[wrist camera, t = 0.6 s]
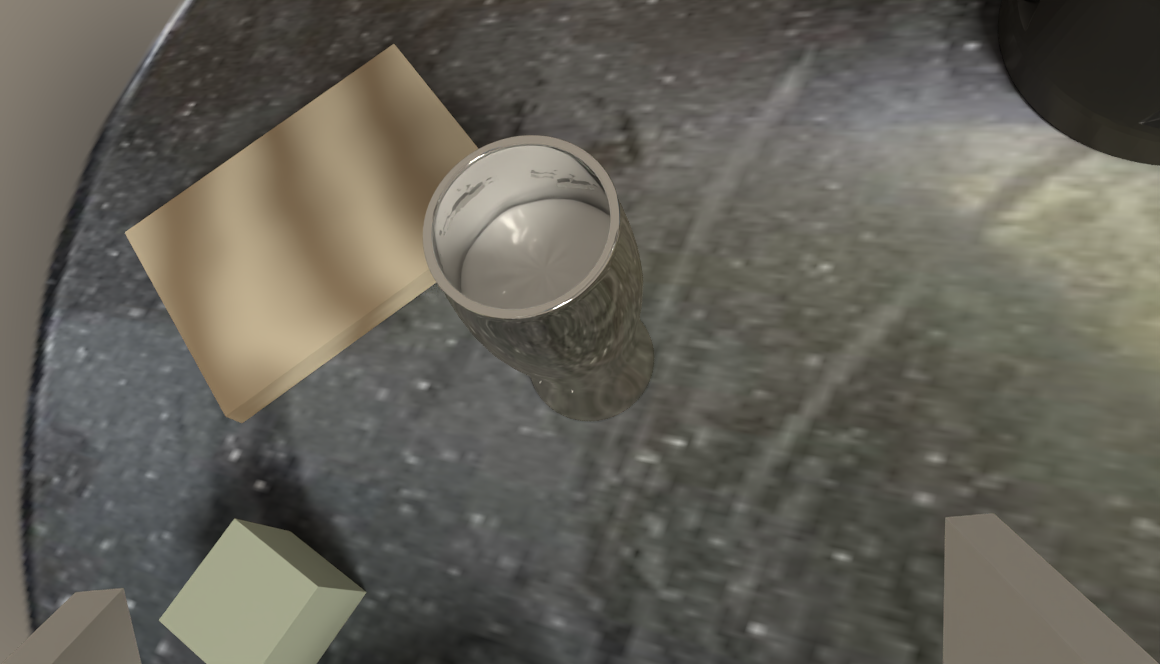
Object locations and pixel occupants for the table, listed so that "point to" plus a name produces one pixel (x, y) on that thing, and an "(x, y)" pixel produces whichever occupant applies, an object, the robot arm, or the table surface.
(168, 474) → the table surface
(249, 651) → the sage block
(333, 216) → the board
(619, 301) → the beer glass
